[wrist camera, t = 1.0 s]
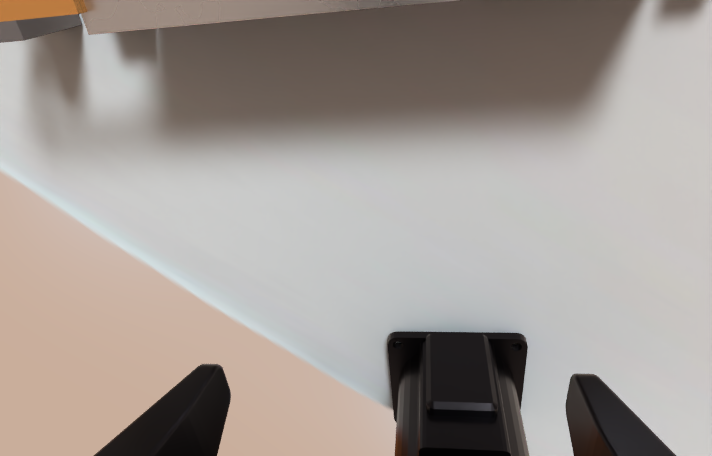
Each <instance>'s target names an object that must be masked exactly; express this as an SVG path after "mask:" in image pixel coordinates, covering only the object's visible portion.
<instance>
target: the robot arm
mask: <svg viewBox="0 0 712 456" xmlns="http://www.w3.org/2000/svg"><path fill="white" fill-rule="evenodd" d="M396 341H399V342H401V343H396ZM514 343H519V344H517V345H513V344H514ZM527 348H528V346H527V342H526V338H525V337H524V335H522V334H519V333H474V332H393V333H391V334H390V335H389V338H388V354H389V365H390V376H391V388H392V399H393V410H394V419H395V421H396V422H397V427H396V444H395V456H529V452H528V447H527V442H526V437H525V432H524V427H523V422H522V417H521V412H520V409H521V401H522V392H523V383H524V374H525V366H526V357H527ZM230 398H231V394H230V389H229V386H228V383H227V380H226V377H225V374H224V371H223V368H222V367H221V366H220V365H218V364H202V365H200V366H198V367H197V368H196V369H195V370H193V371H192V372H191V373H190V374H189V375H188V376H186V377H185V378H184V379H183V380H182V381H181V382H180V383H178V384H177V385H176V386H175V387H174V388H172V389H171V390H170V391H169V392H168V393H167V394H165V395H164V396H163V397H162V398H161V399H160V400H158V401H157V402H156V403H155V404H154V405H153V406H151V407H150V408H149V409H148V410H147V411H146V412H144V413H143V414H142V415H141V416H140V417H139V418H137V419H136V420H135V421H134V422H133V423H132V424H130V425H129V426H128V427H127V428H126V429H124V431H122V432H121V433H120V434H119V435H117V436H116V437H115V438H114V439H113V440H112V441H110V442H109V443H108V444H107V445H106V446H105V447H103V448H102V449H101V450H100V451H99V452H97V453H96V454H95V455H94V456H217V453H218V449H219V445H220V441H221V437H222V432H223V429H224V424H225V421H226V417H227V412H228V408H229V404H230ZM566 415H567V421H568V426H569V431H570V437H571V442H572V447H573V453H574V456H676V455H675V454H674V453H673V452H672V451H671V450H670V449H669V448H668V447H667V446H666V445H665V444H664V443H663V442H662V441H661V440H660V439H659V438H658V437H657V436H656V435H655V434H654V433H653V432H652V431H651V430H650V429H649V428H648V427H647V426H646V425H645V424H644V423H643V422H642V421H641V420H640V418H639V417H638V416H637V415H636V414H635V413H634V412H633V411H632V410H631V409H630V408H629V407H628V406H627V405H626V404H625V403H624V402H623V401H622V400H621V399H620V398H619V397H618V396H617V395H616V394H615V393H614V392H613V391H612V390H611V389H610V388H609V387H608V386H607V385H606V384H605V383H604V382H603V381H602V380H601V379H600V378H599V377H598V376H596V375H594V374H573V375H572V377H571V379H570V384H569V389H568V394H567V400H566Z"/></svg>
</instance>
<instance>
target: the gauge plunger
mask: <svg viewBox="0 0 712 456" xmlns="http://www.w3.org/2000/svg"><path fill="white" fill-rule="evenodd" d="M447 1H458V0H0V22H4V21H14V20H24V19H34V18H44V17H54V16H64V15H74V14H81V15H82V17H83V20H84V23H85V26H86V28H87V31H88V34H89V35H91V34H102V33H113V32H123V31H134V30H145V29H156V28H167V27H177V26H188V25H199V24H210V23H221V22H231V21H242V20H253V19H264V18H275V17H285V16H296V15H307V14H318V13H328V12H339V11H350V10H361V9H372V8H382V7H393V6H404V5H415V4H426V3H436V2H447Z"/></svg>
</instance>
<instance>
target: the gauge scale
mask: <svg viewBox="0 0 712 456" xmlns="http://www.w3.org/2000/svg"><path fill="white" fill-rule="evenodd" d="M79 25H82V23H81V21H80V18H79V15H78V14H74V15H64V16H54V17H44V18H34V19H24V20H14V21H4V22H0V43H1V42H12V41H23V40H27V39H31V38H35V37H38V36H42V35H46V34H49V33H53V32H57V31H60V30H64V29H68V28H71V27H75V26H79Z"/></svg>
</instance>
